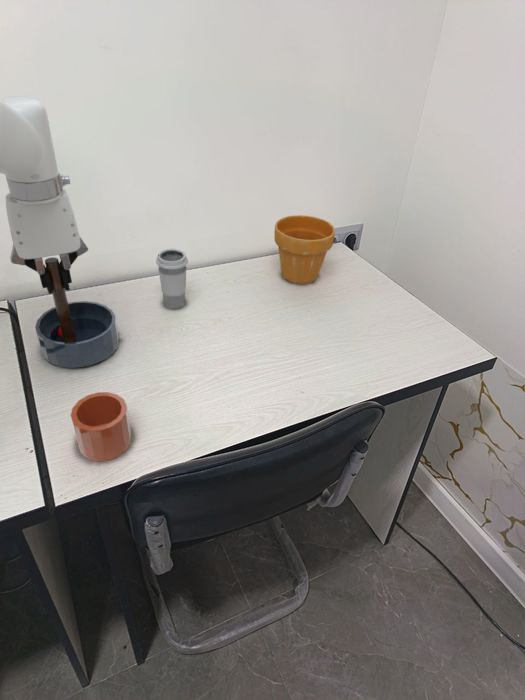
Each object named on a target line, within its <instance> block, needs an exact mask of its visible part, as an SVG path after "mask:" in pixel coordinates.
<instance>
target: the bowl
mask: <svg viewBox="0 0 525 700" xmlns="http://www.w3.org/2000/svg"><path fill="white" fill-rule="evenodd" d="M68 306H69V310H70V315H71V319H72V324H73V328H74V333H75V338H76V342H72V343H64V340H63V338H61V337H60V336H59V334H58V329H59V327H60V323H59V319H58V315H57V311H56V306H53V307H51V308H50V309H48V310H47V311H44V312H43V313H42V314H41V316H40V317H39V318H38V319H37V320H36V323H35V328H34V329H35V332H36V336H37V339H38V343H39V347H40V350H41V353H42V357H43V358H44V359H45V360H47V362H48V363H50V364H53V365H55V366H57V367H63V368H68V369H69V368H71V369H72V368H85V367H88V366H93V365H96V364H98V363H100V362H103V361H104V360H107V359H108V358H109V357H111V355H112V354H113V353H115V351H116V350H117V348H118V346H119V339H120V338H119V332H118V325H117V318H116V314H115V313H114V311H113V310H112V309H111V308H109V307H108V306H107V305H105V304H102V303H100V302H97V301H88V300H79V301H70V302H68Z"/></svg>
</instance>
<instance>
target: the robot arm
mask: <svg viewBox="0 0 525 700" xmlns="http://www.w3.org/2000/svg"><path fill="white" fill-rule="evenodd" d="M0 174H2V175H4V176H5V179H6V183H7V187H8V191H9V193H7V194H6V195H5V208H6V209H5V210H6V217H7V221H8V226H9V230H10V231H9V232H10V235H11V239H12V243H13V244H12V247H11V252H10V256H9V260H10V262H11V264H14V265H18V266H19V265H20V266H26V267H28V268H29V269H31V270H33V271H35V272H36V273H37V274H38V275H39V280H40V284H41V287H42V289H46V290H47V292H48V294H49V295H50V294H51V295H53V294H52V293H53V290H52V285H51V281H50V277H49V273H48V271H47V269H46V264H45V263H44V260H43V259H44V258H49V257H53V256H54V257H55V256H58V255H59V256H58V257H59V265H60V270H61V275H62V279H63V284H64V288H65V291H71V289H70V284H72V283H73V280H72V276H71V269H72V268H71V267H72V265H73V264H74V262H75V261H76V260H77V259H78V257H80V256H82V255H83V254H85V253H87V252H88V251H89V247H88V246H87V244H86V243H85V241H84V240H83V239H82V237H81V236H80V232H79V229H78V224H77V221H76V217H75V213H74V210H73V206H72V203H71V201H70V197H69V195H68V193H67V190H66V189H64V186H67V185H70V184H71V180H70V177H69V175H63V174H61V173H59V169H58V165H57V158H56V153H55V148H54V144H53V138H52V132H51V127H50V122H49V117H48V112H47V109H46V107H45V105H44V103H42V102H41V101H40V100H38V99H36V98H33V97H29V96H5V97H0Z"/></svg>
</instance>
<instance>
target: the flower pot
mask: <svg viewBox="0 0 525 700" xmlns="http://www.w3.org/2000/svg"><path fill="white" fill-rule="evenodd" d="M335 235H336V229H335V226H334V225H333V224H332V223H331V222H329V221H327V220H325V219H323V218H320V217H316V216H311V215H303V214H301V215H300V214H297V215H288V216H285V217H281V218H280V219H278V220H277V221H276V222H275V224H274V235H273V236H274V243H275V244H276V246H277V248H278V256H279V262H280V269H281V275H282V278H283V279H284V280H286V281H288V282H290V283H293V284H298V285H306V284H307V285H308V284H311V283H313V282H315V281H316V280H317V279H318V276H319V274H320V272H321V269H322V266H323V263H324V261H325V258H326V257H327V256H326V255H327V253H328V251H329V250H331V249H332V247H333V245H334V241H335Z"/></svg>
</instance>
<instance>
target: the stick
mask: <svg viewBox="0 0 525 700" xmlns="http://www.w3.org/2000/svg"><path fill="white" fill-rule="evenodd" d="M59 263H60V259H59V258H57V257H55V256H54V257H53V256H51V257H47V258H45V260H44V265H45V267H46V269H47V271H48V273H49V277H50V281H51V285H52V290H53V293H52V294H51V295H52V298H53V302H54V307H56V311H57V315H58V319H59V323H60V327H61V332H62V336H63V340H64V343H72V342H76V338H75V333H74V328H73V324H72V319H71V315H70V310H69V306H68V303H69V302H68V301H69V300H68V298H67V293H66V290H65V288H64V284H63V279H62V275H61V270H60V265H59Z"/></svg>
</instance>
